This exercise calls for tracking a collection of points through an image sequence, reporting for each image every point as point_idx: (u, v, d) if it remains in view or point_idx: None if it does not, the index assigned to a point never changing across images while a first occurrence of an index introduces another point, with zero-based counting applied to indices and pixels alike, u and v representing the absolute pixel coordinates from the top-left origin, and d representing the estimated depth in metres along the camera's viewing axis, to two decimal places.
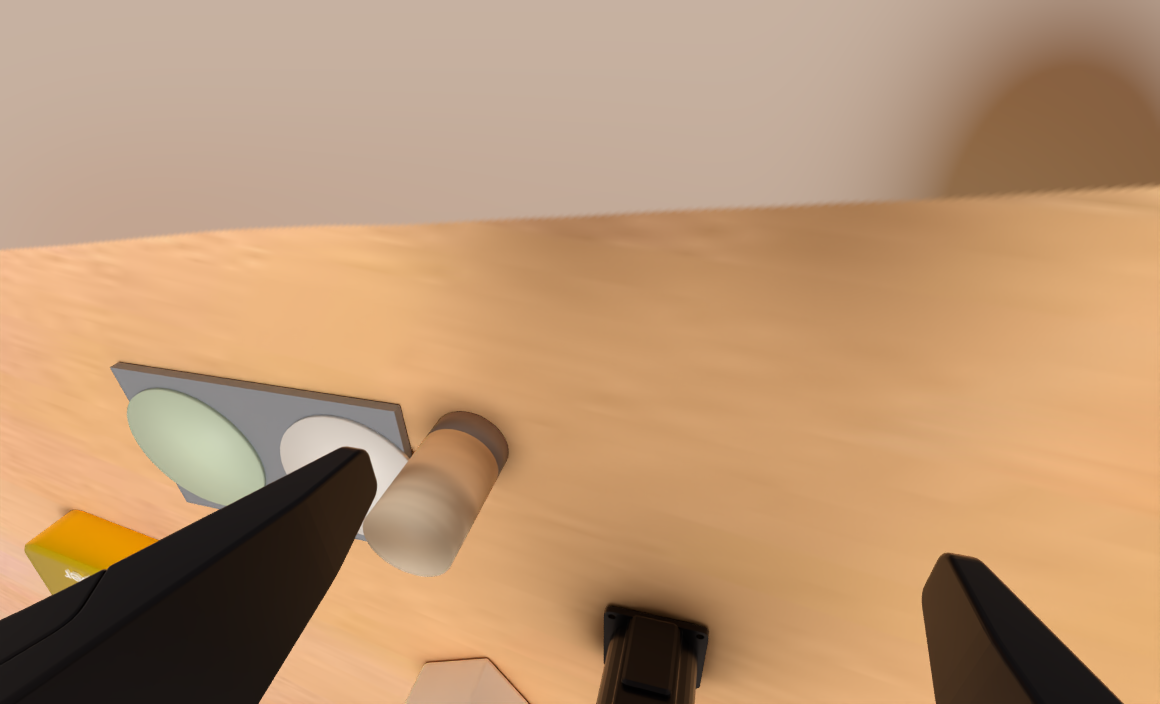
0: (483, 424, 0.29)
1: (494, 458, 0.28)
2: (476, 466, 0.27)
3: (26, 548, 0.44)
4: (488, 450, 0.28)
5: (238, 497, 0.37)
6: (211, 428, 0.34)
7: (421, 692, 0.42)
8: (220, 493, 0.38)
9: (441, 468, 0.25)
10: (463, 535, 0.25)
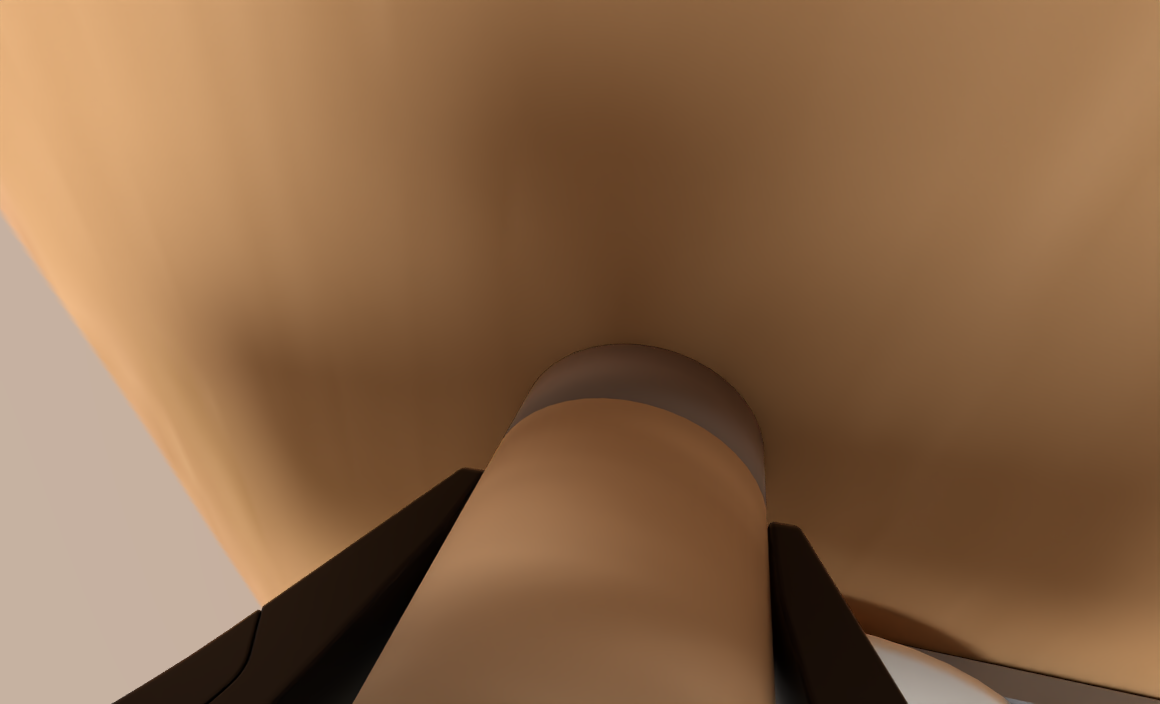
0: (527, 395, 0.09)
1: (575, 401, 0.08)
2: (499, 480, 0.07)
3: None
4: (547, 414, 0.08)
5: None
6: None
7: None
8: None
9: None
10: None
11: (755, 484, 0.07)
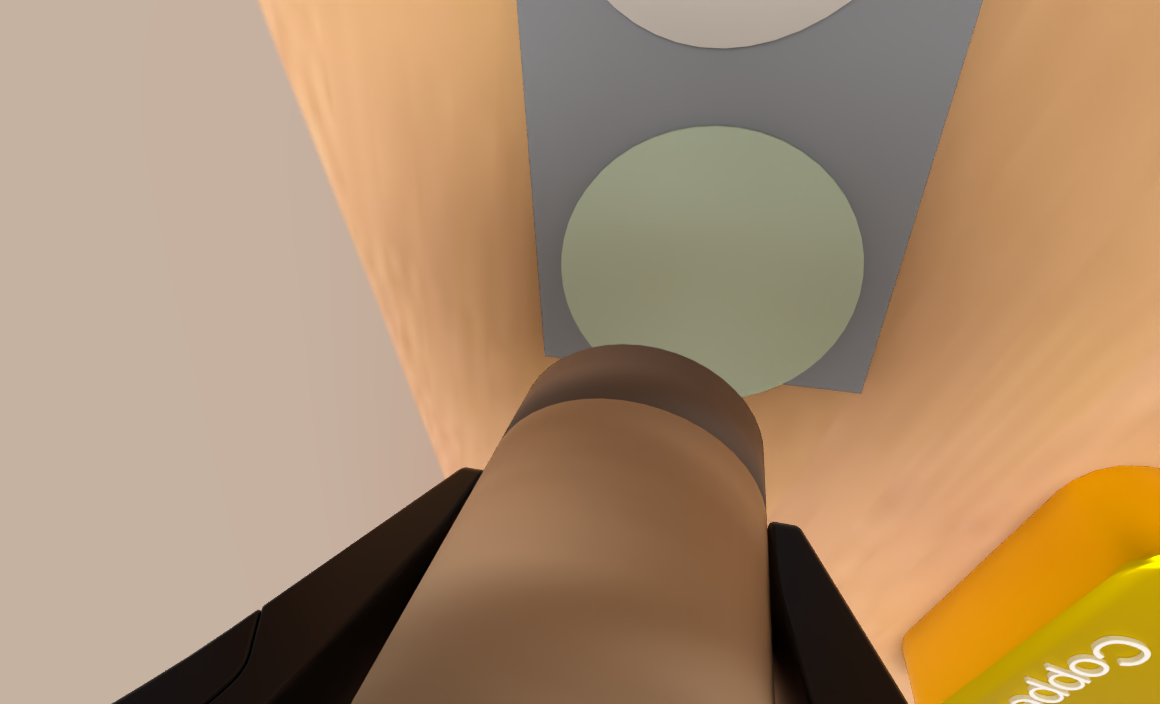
0: (526, 396, 0.09)
1: (574, 401, 0.08)
2: (498, 480, 0.07)
3: None
4: (547, 413, 0.08)
5: (831, 237, 0.17)
6: (628, 205, 0.18)
7: None
8: (819, 281, 0.17)
9: None
10: None
11: (755, 485, 0.07)
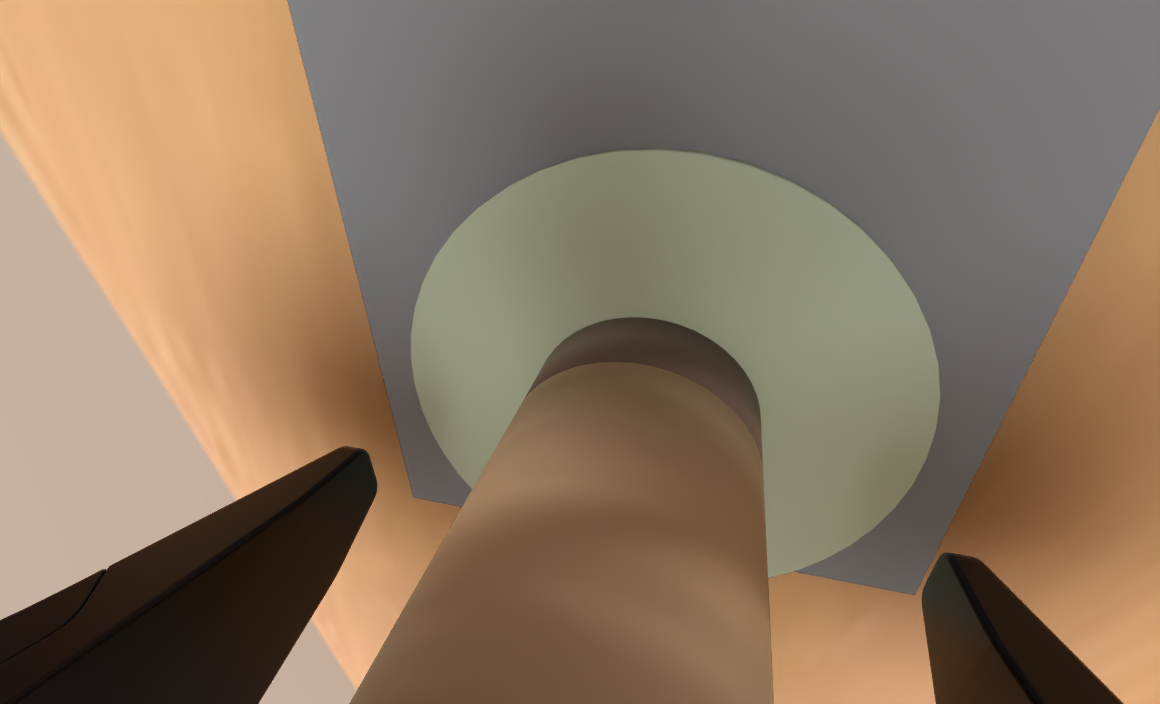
0: (543, 366, 0.10)
1: (589, 366, 0.08)
2: (522, 432, 0.08)
3: None
4: (563, 378, 0.09)
5: (879, 361, 0.09)
6: (510, 288, 0.10)
7: None
8: (853, 432, 0.10)
9: None
10: (569, 636, 0.05)
11: (752, 440, 0.08)
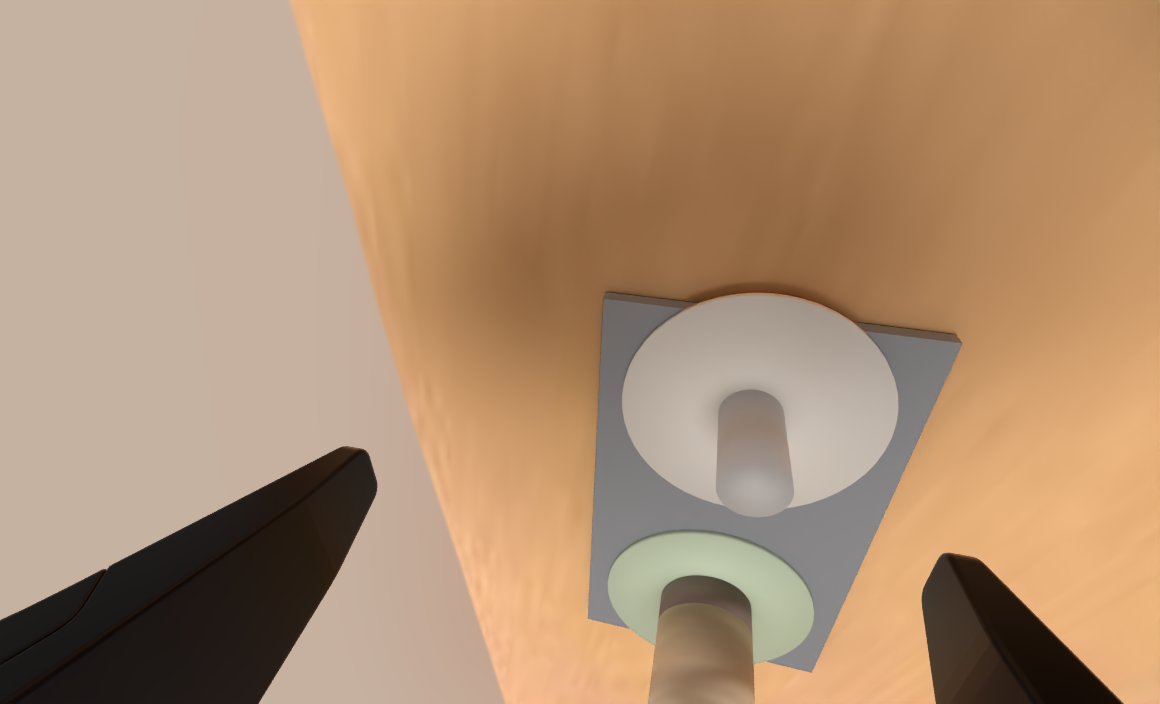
0: (669, 588, 0.26)
1: (695, 603, 0.25)
2: (678, 633, 0.24)
3: None
4: (685, 605, 0.25)
5: (793, 599, 0.25)
6: (659, 561, 0.26)
7: None
8: (785, 618, 0.26)
9: (654, 669, 0.24)
10: None
11: (749, 630, 0.25)
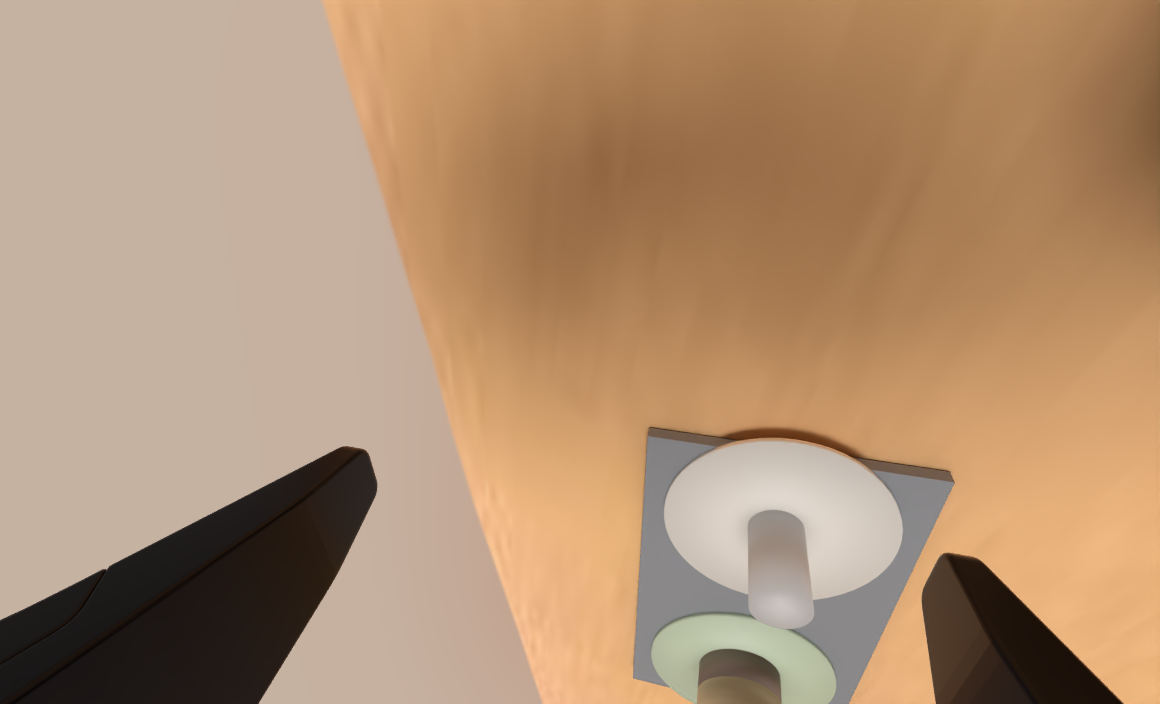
0: (707, 659, 0.30)
1: (730, 677, 0.28)
2: None
3: None
4: (721, 677, 0.29)
5: (817, 671, 0.29)
6: (697, 636, 0.30)
7: None
8: (810, 686, 0.29)
9: None
10: None
11: (779, 700, 0.28)
